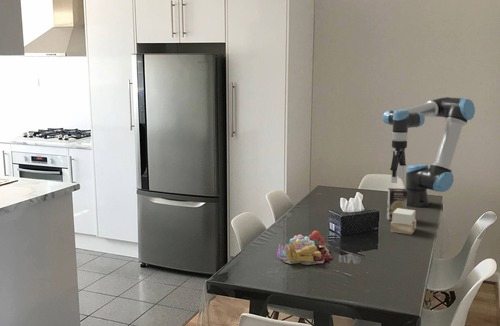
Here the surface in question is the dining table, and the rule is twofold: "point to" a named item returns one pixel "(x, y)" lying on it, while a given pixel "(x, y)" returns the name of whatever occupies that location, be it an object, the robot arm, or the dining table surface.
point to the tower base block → (403, 228)
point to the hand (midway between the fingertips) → (397, 180)
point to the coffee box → (396, 200)
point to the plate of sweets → (304, 250)
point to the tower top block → (403, 216)
